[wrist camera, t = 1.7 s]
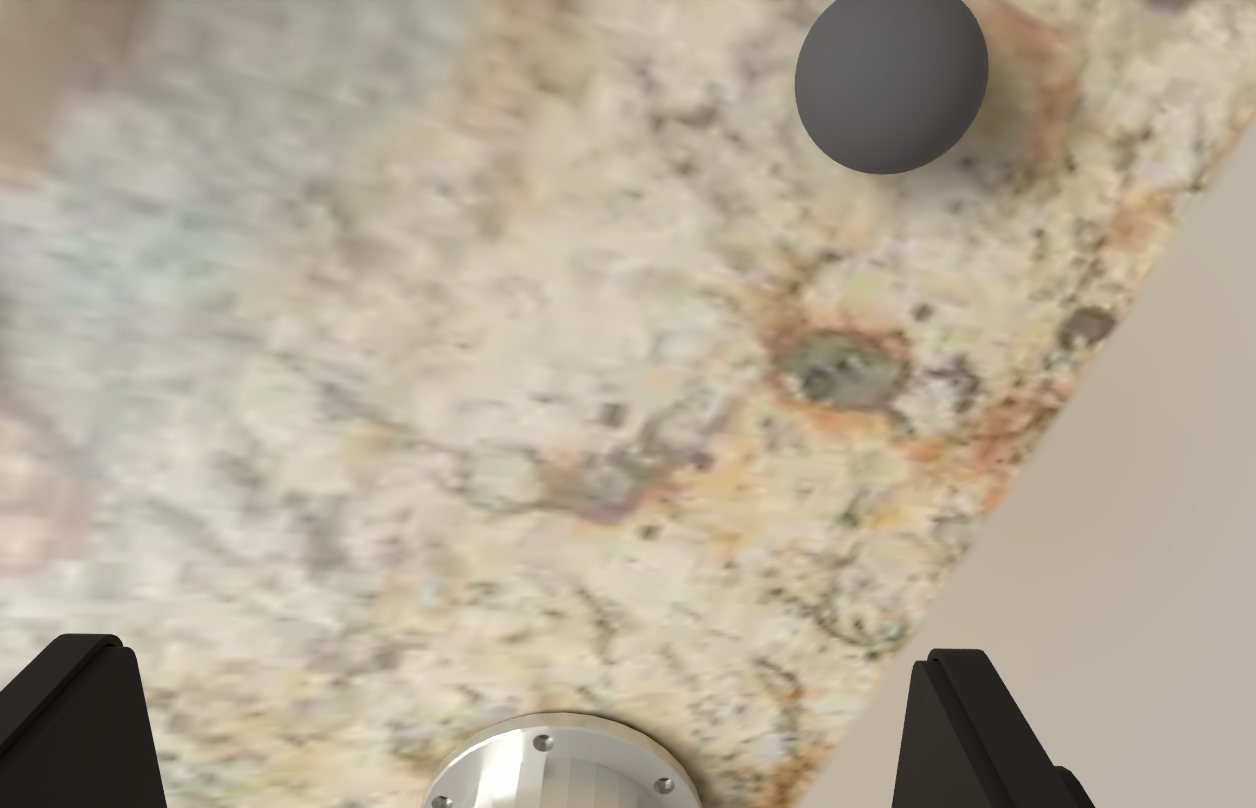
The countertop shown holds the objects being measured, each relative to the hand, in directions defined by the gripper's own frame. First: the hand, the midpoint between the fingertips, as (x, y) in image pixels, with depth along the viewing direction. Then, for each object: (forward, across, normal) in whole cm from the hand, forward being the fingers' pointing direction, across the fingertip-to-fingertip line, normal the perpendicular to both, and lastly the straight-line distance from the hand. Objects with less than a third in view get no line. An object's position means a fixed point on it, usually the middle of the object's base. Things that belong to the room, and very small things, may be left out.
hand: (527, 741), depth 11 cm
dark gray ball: (+20, -9, -8) cm, 23 cm away
